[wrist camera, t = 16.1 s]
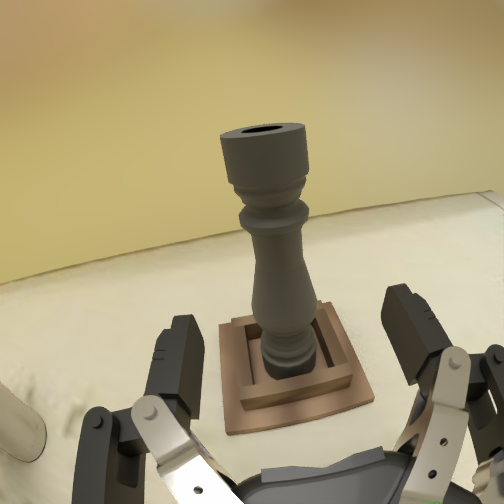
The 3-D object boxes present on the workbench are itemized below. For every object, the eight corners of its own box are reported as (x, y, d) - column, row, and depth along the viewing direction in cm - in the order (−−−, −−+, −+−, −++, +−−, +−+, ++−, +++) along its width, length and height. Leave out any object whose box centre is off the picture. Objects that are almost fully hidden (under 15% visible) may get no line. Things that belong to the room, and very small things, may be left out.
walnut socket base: (228, 435, 24) (218, 422, 22) (220, 330, 37) (213, 309, 35) (372, 401, 24) (381, 384, 22) (330, 307, 38) (331, 285, 35)
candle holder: (252, 362, 31) (198, 139, 17) (289, 332, 34) (264, 122, 20) (290, 392, 26) (258, 140, 13) (326, 357, 29) (327, 123, 16)
